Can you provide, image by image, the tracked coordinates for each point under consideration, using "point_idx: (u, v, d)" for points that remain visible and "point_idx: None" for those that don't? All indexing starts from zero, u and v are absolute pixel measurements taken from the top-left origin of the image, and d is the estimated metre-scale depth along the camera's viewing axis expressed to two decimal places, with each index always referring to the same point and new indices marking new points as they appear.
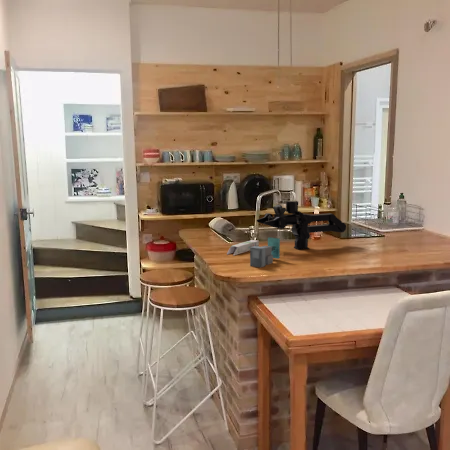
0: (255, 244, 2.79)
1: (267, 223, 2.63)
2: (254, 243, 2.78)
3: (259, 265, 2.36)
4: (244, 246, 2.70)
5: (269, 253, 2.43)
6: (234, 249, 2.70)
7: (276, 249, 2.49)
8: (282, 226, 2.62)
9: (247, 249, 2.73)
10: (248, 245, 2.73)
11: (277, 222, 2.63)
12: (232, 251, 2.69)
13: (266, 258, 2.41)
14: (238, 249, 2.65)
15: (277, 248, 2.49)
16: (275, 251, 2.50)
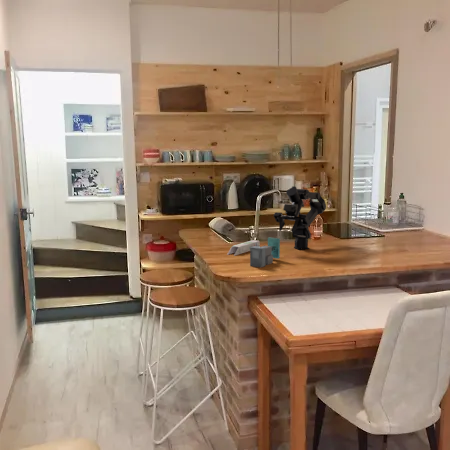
0: (256, 244, 2.79)
1: (294, 229, 2.60)
2: (255, 243, 2.78)
3: (259, 265, 2.36)
4: (245, 246, 2.70)
5: (269, 253, 2.43)
6: (235, 249, 2.70)
7: (276, 249, 2.49)
8: (308, 222, 2.61)
9: (248, 249, 2.72)
10: (249, 245, 2.73)
11: (299, 221, 2.61)
12: (233, 251, 2.68)
13: (266, 258, 2.41)
14: (239, 249, 2.65)
15: (277, 248, 2.49)
16: (275, 251, 2.50)
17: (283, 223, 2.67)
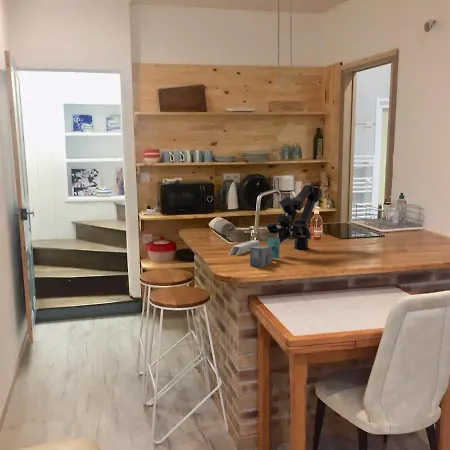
0: (256, 244, 2.79)
1: (281, 240, 2.56)
2: (255, 243, 2.78)
3: (259, 265, 2.36)
4: (246, 246, 2.69)
5: (269, 253, 2.43)
6: (236, 249, 2.69)
7: (276, 249, 2.49)
8: (302, 233, 2.56)
9: (248, 249, 2.72)
10: (249, 245, 2.73)
11: (287, 232, 2.57)
12: (234, 251, 2.68)
13: (266, 258, 2.41)
14: (240, 249, 2.65)
15: (277, 248, 2.49)
16: (275, 251, 2.50)
17: None
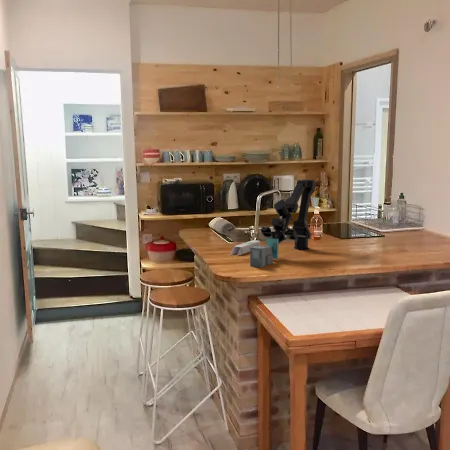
0: (257, 244, 2.78)
1: None
2: (256, 243, 2.77)
3: (259, 265, 2.36)
4: (247, 246, 2.69)
5: (269, 253, 2.43)
6: (237, 249, 2.69)
7: (275, 249, 2.48)
8: (296, 237, 2.50)
9: (249, 249, 2.72)
10: (250, 245, 2.72)
11: (282, 236, 2.52)
12: (235, 251, 2.67)
13: (266, 258, 2.41)
14: (241, 249, 2.64)
15: (275, 249, 2.48)
16: (274, 251, 2.49)
17: (276, 238, 2.54)
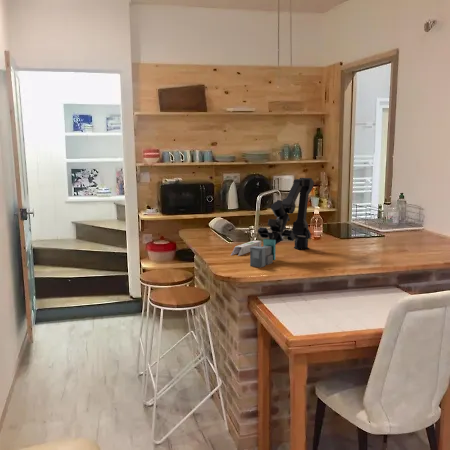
0: (258, 244, 2.78)
1: None
2: (257, 243, 2.77)
3: (259, 265, 2.36)
4: (248, 246, 2.69)
5: (269, 253, 2.43)
6: (238, 250, 2.69)
7: (272, 251, 2.46)
8: (293, 238, 2.48)
9: None
10: (251, 245, 2.72)
11: (279, 237, 2.49)
12: (236, 252, 2.67)
13: (266, 258, 2.41)
14: (242, 249, 2.64)
15: (273, 250, 2.45)
16: (271, 253, 2.46)
17: (273, 239, 2.52)
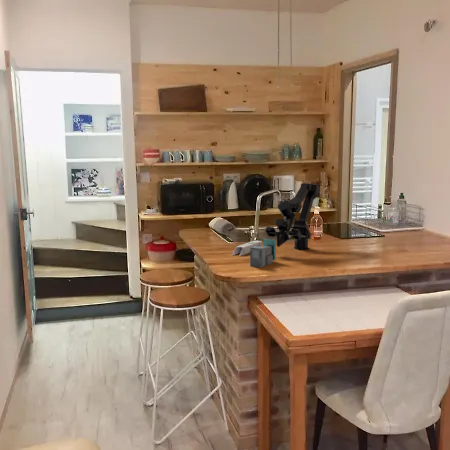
0: (259, 244, 2.78)
1: (280, 244, 2.55)
2: (258, 243, 2.77)
3: (259, 265, 2.36)
4: (249, 247, 2.68)
5: (269, 253, 2.43)
6: (239, 250, 2.68)
7: (272, 250, 2.46)
8: (300, 237, 2.54)
9: None
10: (252, 246, 2.72)
11: (286, 236, 2.56)
12: (237, 252, 2.67)
13: (266, 258, 2.41)
14: (243, 250, 2.64)
15: (273, 250, 2.45)
16: (271, 253, 2.46)
17: None
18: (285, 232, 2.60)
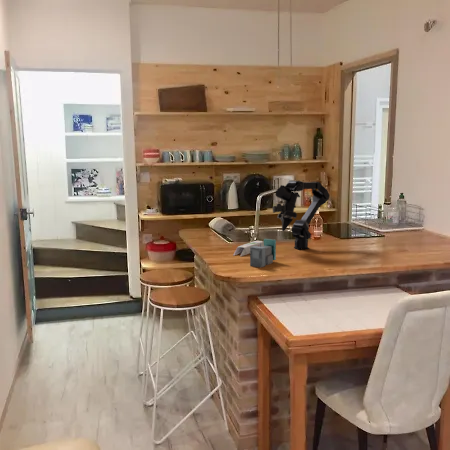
0: (260, 245, 2.77)
1: (284, 228, 2.66)
2: (259, 244, 2.76)
3: (259, 265, 2.36)
4: None
5: (269, 253, 2.43)
6: (240, 250, 2.68)
7: (272, 250, 2.46)
8: (294, 215, 2.58)
9: None
10: None
11: (286, 218, 2.65)
12: (238, 252, 2.66)
13: (266, 258, 2.41)
14: (245, 250, 2.63)
15: (273, 250, 2.45)
16: (271, 253, 2.46)
17: None
18: None
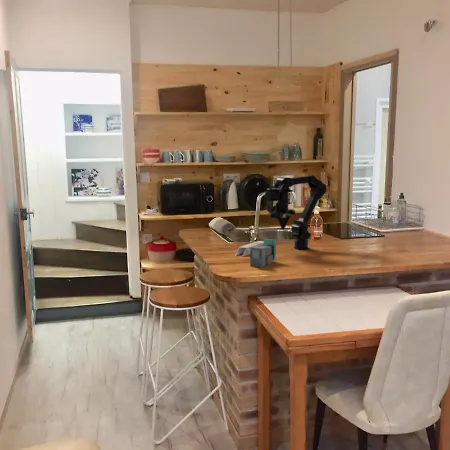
0: (263, 245, 2.76)
1: (282, 226, 2.70)
2: (262, 244, 2.75)
3: (259, 265, 2.36)
4: None
5: (269, 253, 2.43)
6: (242, 250, 2.67)
7: (272, 250, 2.46)
8: (277, 216, 2.61)
9: None
10: None
11: (280, 218, 2.68)
12: (240, 252, 2.66)
13: (266, 258, 2.41)
14: (247, 250, 2.62)
15: (273, 250, 2.45)
16: (271, 253, 2.46)
17: None
18: None
